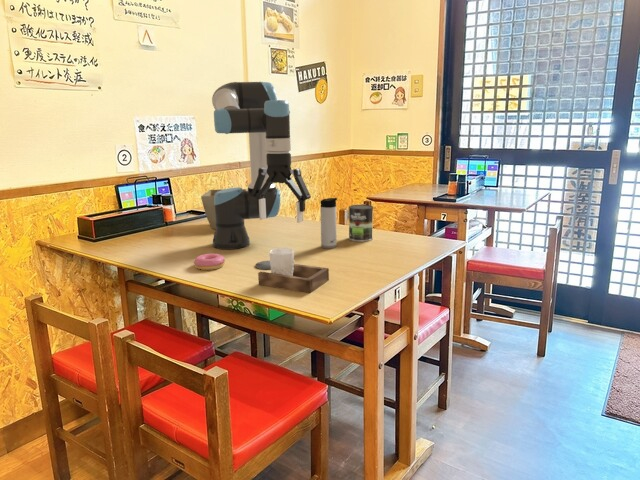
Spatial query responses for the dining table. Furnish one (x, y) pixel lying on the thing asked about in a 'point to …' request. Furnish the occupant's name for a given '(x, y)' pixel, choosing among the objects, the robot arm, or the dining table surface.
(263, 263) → the coaster
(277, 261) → the white cup
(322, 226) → the travel mug
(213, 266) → the doughnut
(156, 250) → the dining table surface
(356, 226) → the coffee can
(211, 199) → the flower pot
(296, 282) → the brown wooden tray
